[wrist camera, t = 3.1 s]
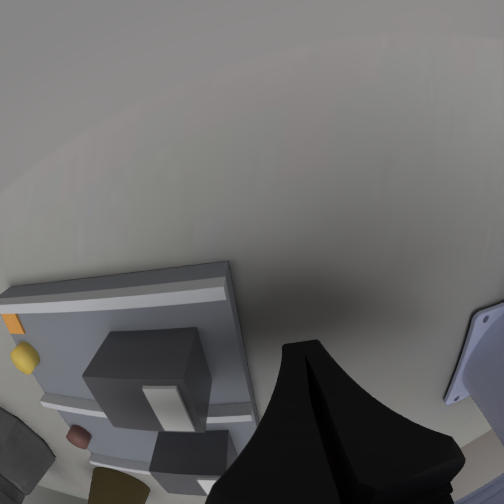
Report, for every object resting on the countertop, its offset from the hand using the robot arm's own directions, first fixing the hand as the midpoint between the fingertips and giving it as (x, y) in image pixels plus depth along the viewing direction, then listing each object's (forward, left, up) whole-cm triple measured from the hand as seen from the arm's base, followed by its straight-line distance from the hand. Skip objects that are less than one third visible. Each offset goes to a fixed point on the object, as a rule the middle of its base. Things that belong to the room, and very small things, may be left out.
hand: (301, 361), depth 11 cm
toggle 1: (+6, 0, -1) cm, 6 cm away
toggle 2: (+6, +7, -1) cm, 9 cm away
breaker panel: (+9, +4, -2) cm, 10 cm away
